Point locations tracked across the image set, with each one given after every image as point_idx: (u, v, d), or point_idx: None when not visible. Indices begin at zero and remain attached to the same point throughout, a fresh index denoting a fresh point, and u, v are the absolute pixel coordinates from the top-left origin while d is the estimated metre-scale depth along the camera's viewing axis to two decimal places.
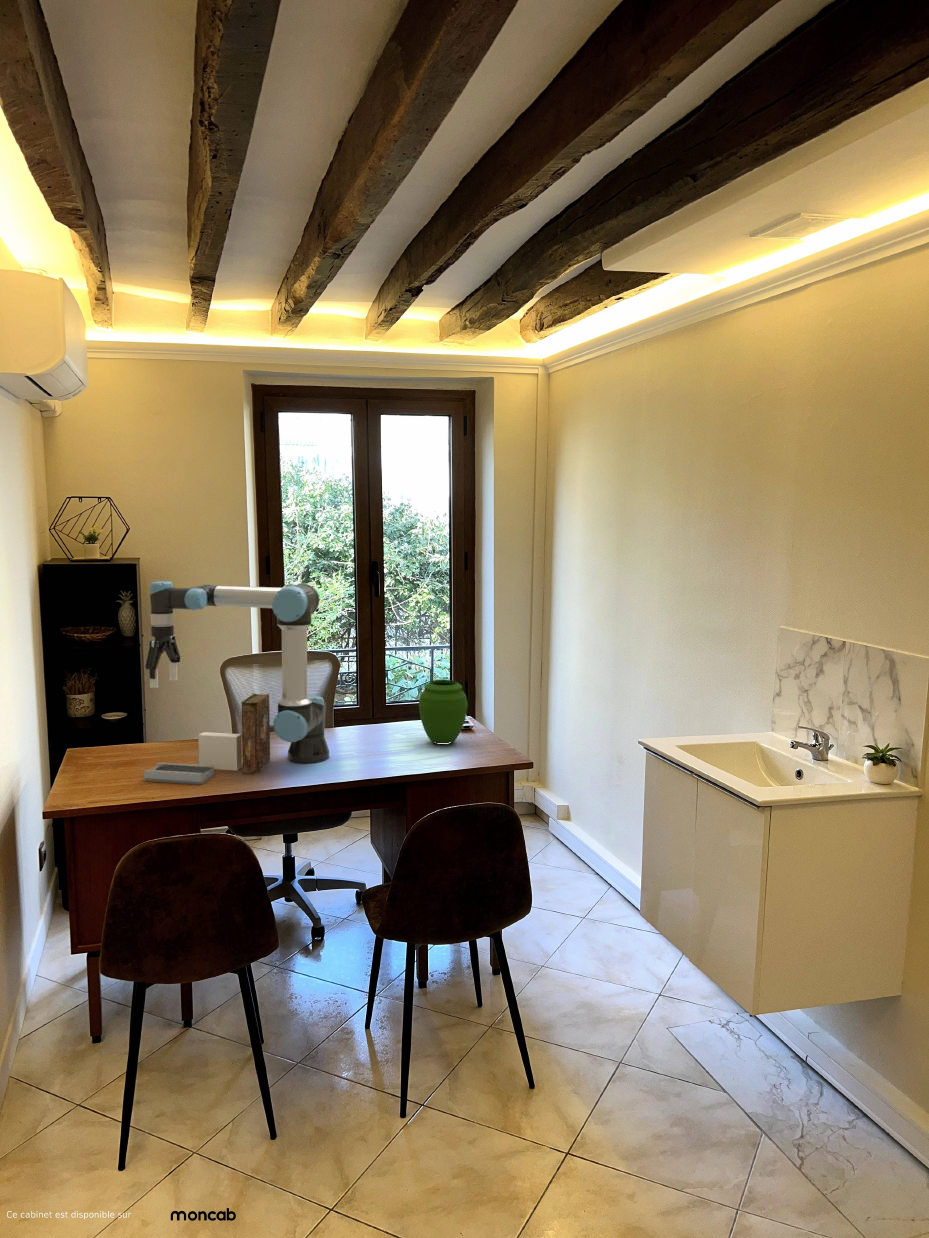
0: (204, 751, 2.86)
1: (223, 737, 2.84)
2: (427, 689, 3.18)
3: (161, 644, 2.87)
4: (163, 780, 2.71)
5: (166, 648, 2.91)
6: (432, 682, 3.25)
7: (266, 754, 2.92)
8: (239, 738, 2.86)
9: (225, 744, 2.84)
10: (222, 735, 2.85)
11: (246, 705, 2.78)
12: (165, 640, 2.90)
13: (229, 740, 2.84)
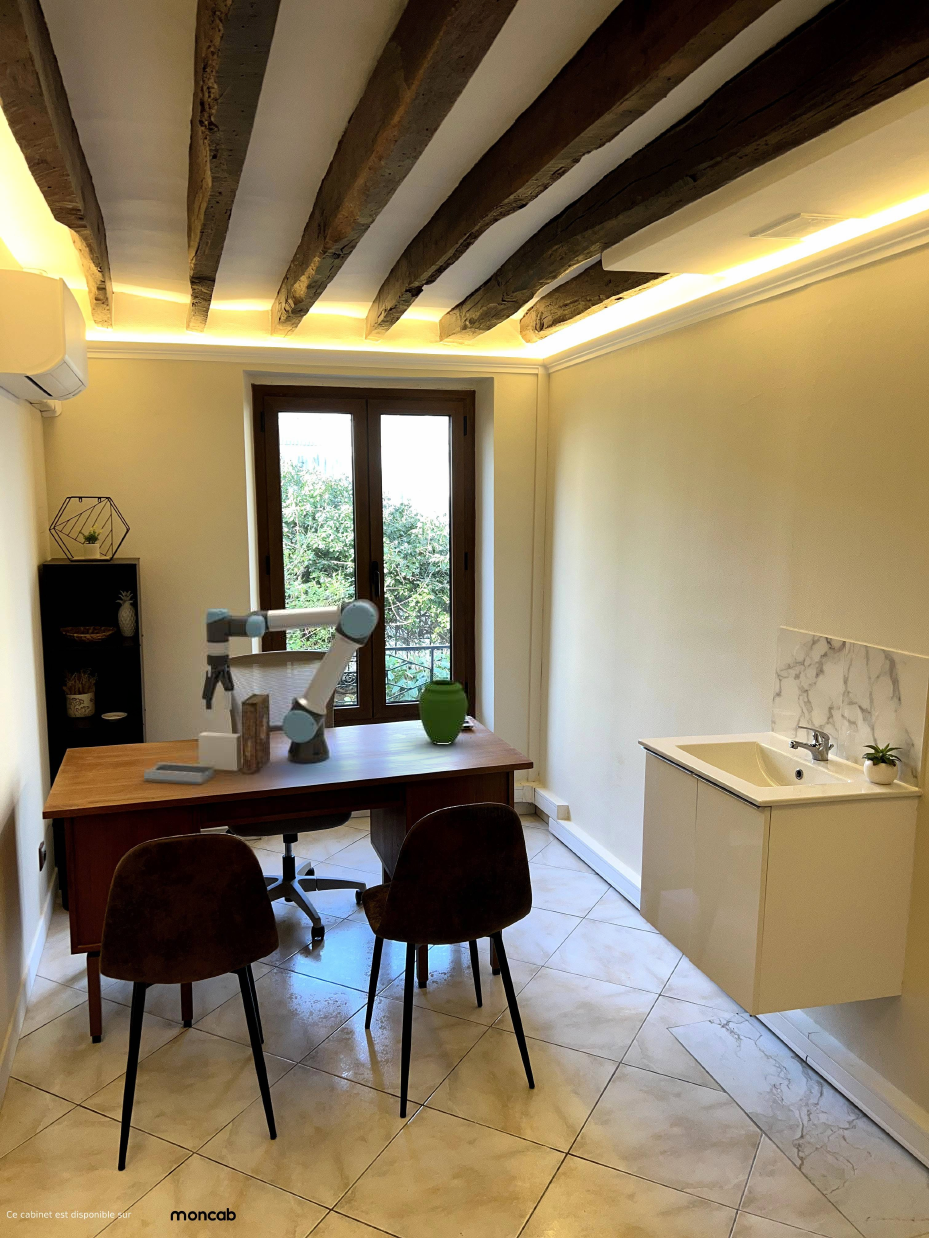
0: (204, 751, 2.86)
1: (223, 737, 2.84)
2: (427, 689, 3.18)
3: (217, 673, 2.81)
4: (163, 780, 2.71)
5: (221, 677, 2.84)
6: (432, 682, 3.25)
7: (266, 754, 2.92)
8: (239, 738, 2.86)
9: (225, 744, 2.84)
10: (222, 735, 2.85)
11: (246, 705, 2.78)
12: (221, 669, 2.83)
13: (229, 740, 2.84)
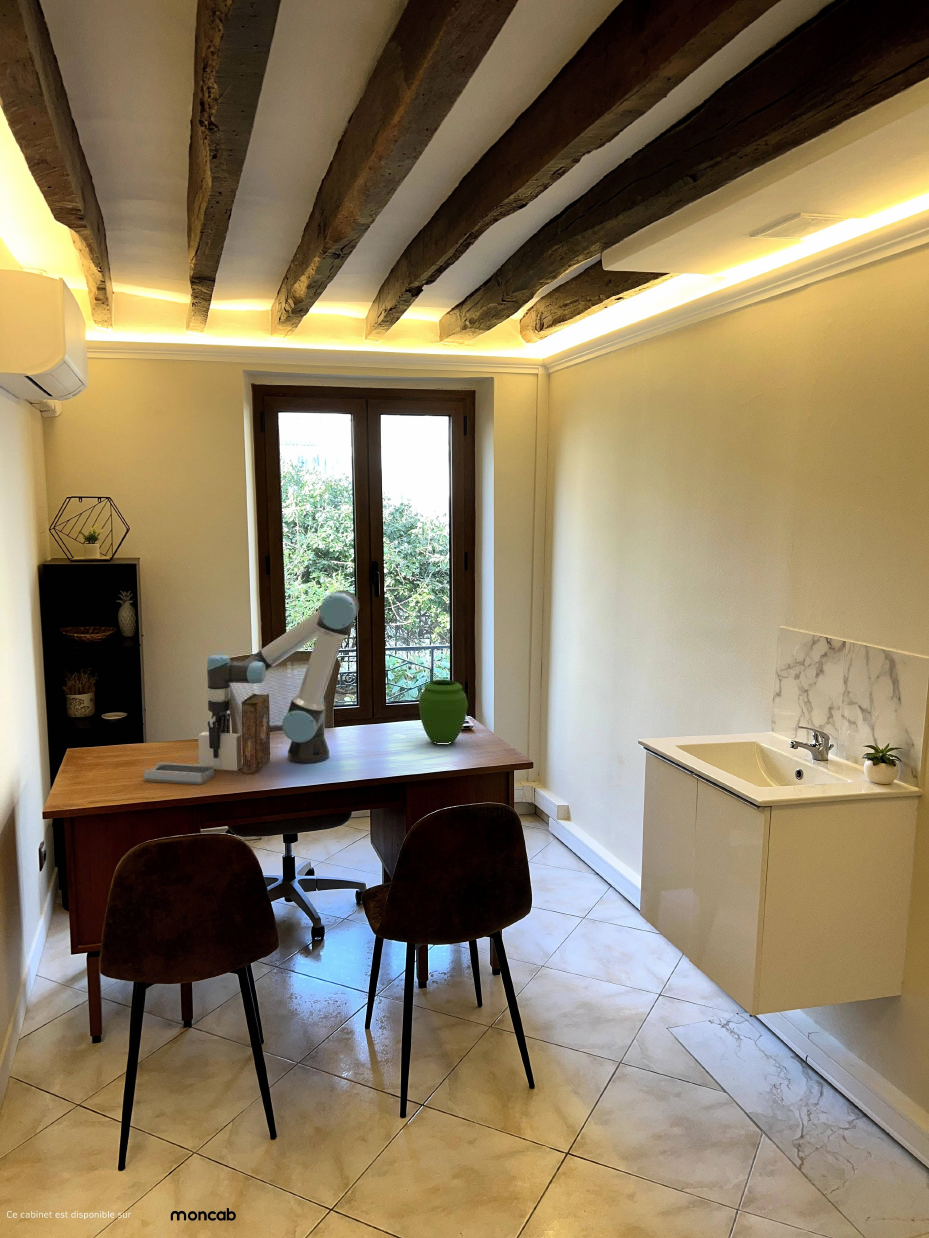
0: (204, 751, 2.86)
1: (223, 737, 2.84)
2: (427, 689, 3.18)
3: (218, 719, 2.82)
4: (163, 780, 2.71)
5: (223, 722, 2.86)
6: (432, 682, 3.25)
7: (266, 754, 2.92)
8: (239, 738, 2.86)
9: (225, 744, 2.84)
10: (222, 735, 2.85)
11: (246, 705, 2.78)
12: (222, 714, 2.85)
13: (229, 740, 2.84)
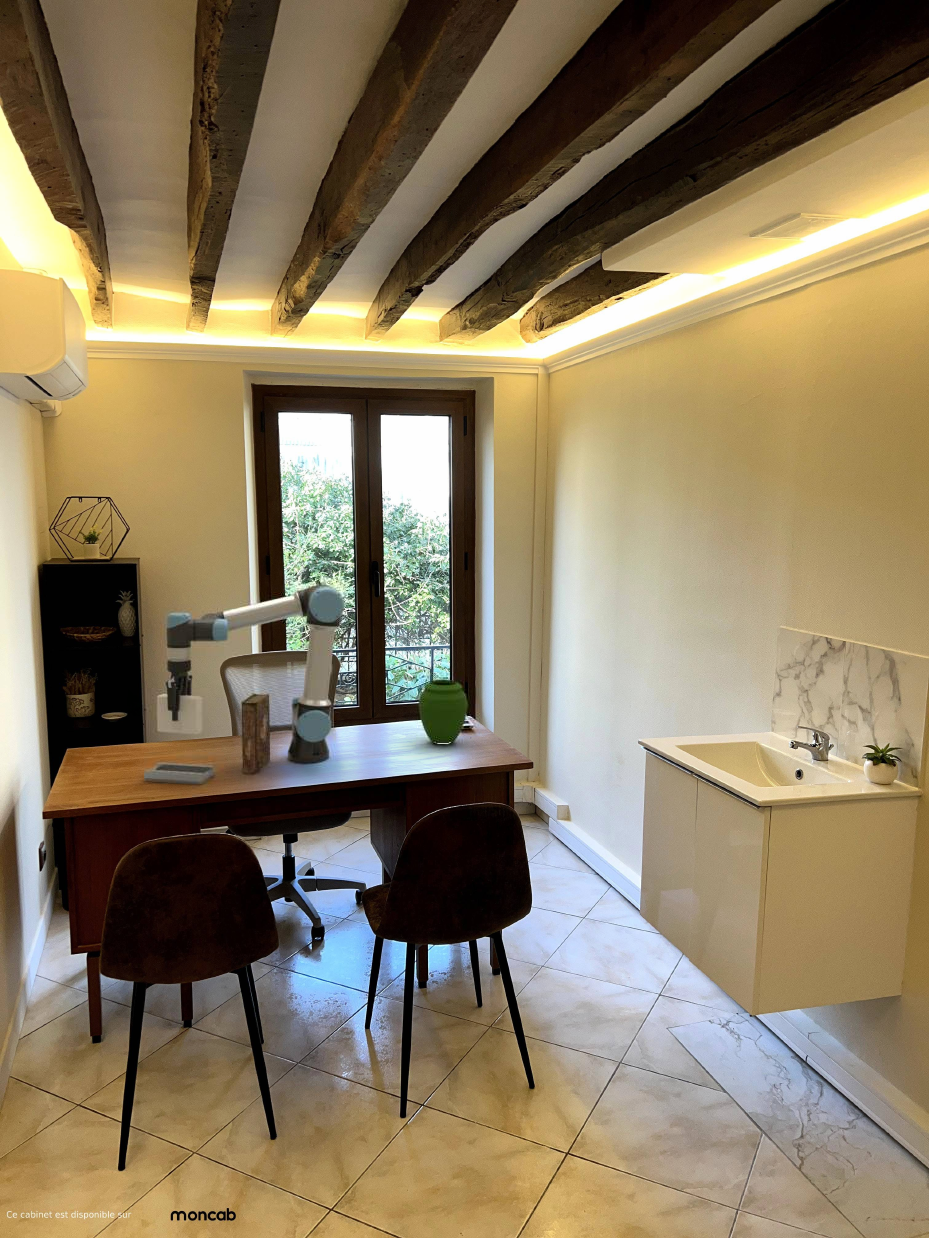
0: (162, 714, 2.72)
1: (182, 699, 2.70)
2: (427, 689, 3.18)
3: (177, 680, 2.69)
4: (163, 780, 2.71)
5: (183, 684, 2.72)
6: (432, 682, 3.25)
7: (266, 754, 2.92)
8: (199, 700, 2.72)
9: (184, 706, 2.71)
10: (182, 697, 2.72)
11: (246, 705, 2.78)
12: (182, 675, 2.71)
13: (189, 702, 2.70)
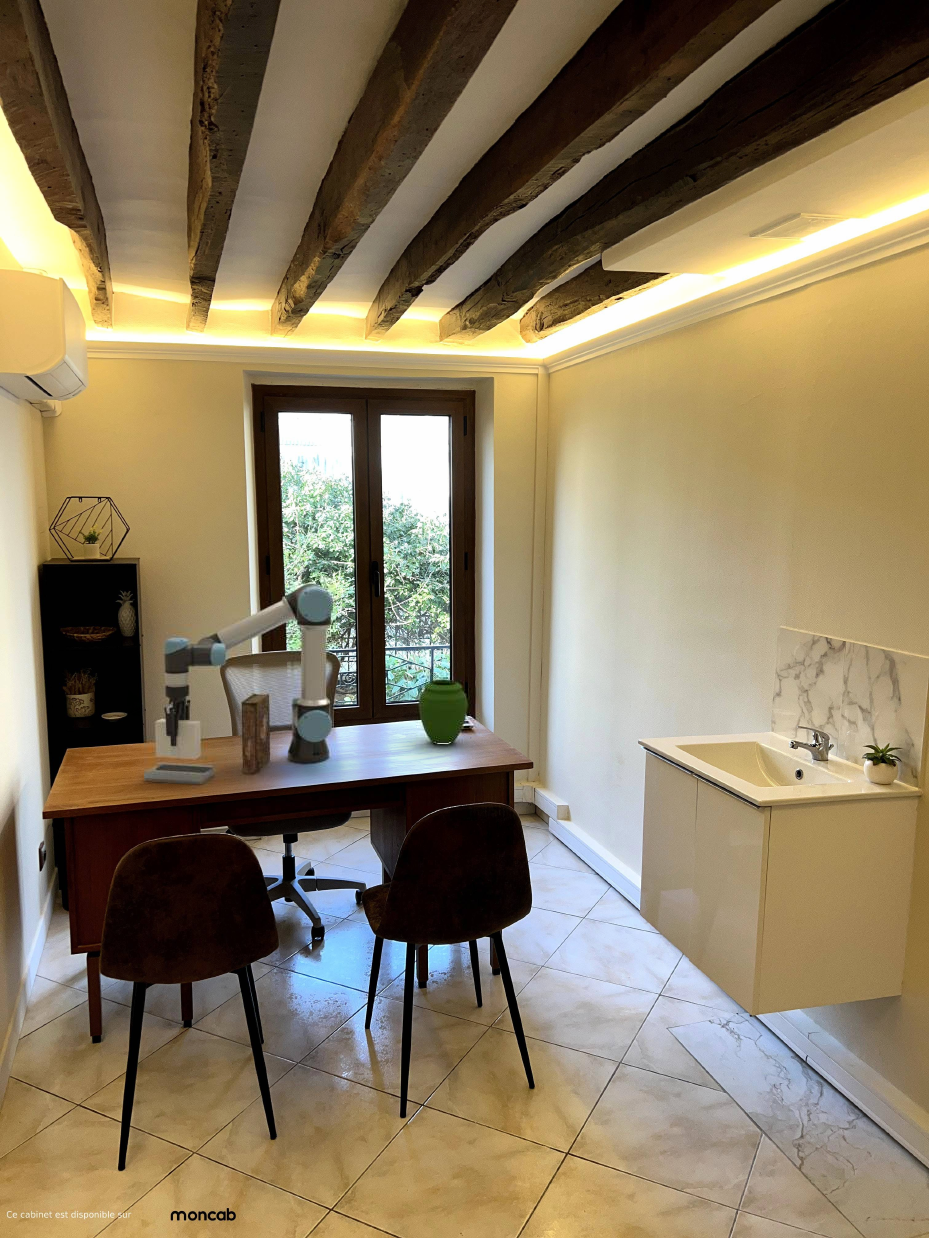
0: (161, 739, 2.72)
1: (180, 724, 2.70)
2: (427, 689, 3.18)
3: (176, 705, 2.69)
4: (163, 780, 2.71)
5: (181, 709, 2.72)
6: (432, 682, 3.25)
7: (266, 754, 2.92)
8: (198, 725, 2.72)
9: (183, 731, 2.71)
10: (180, 722, 2.72)
11: (246, 705, 2.78)
12: (180, 700, 2.72)
13: (187, 727, 2.70)
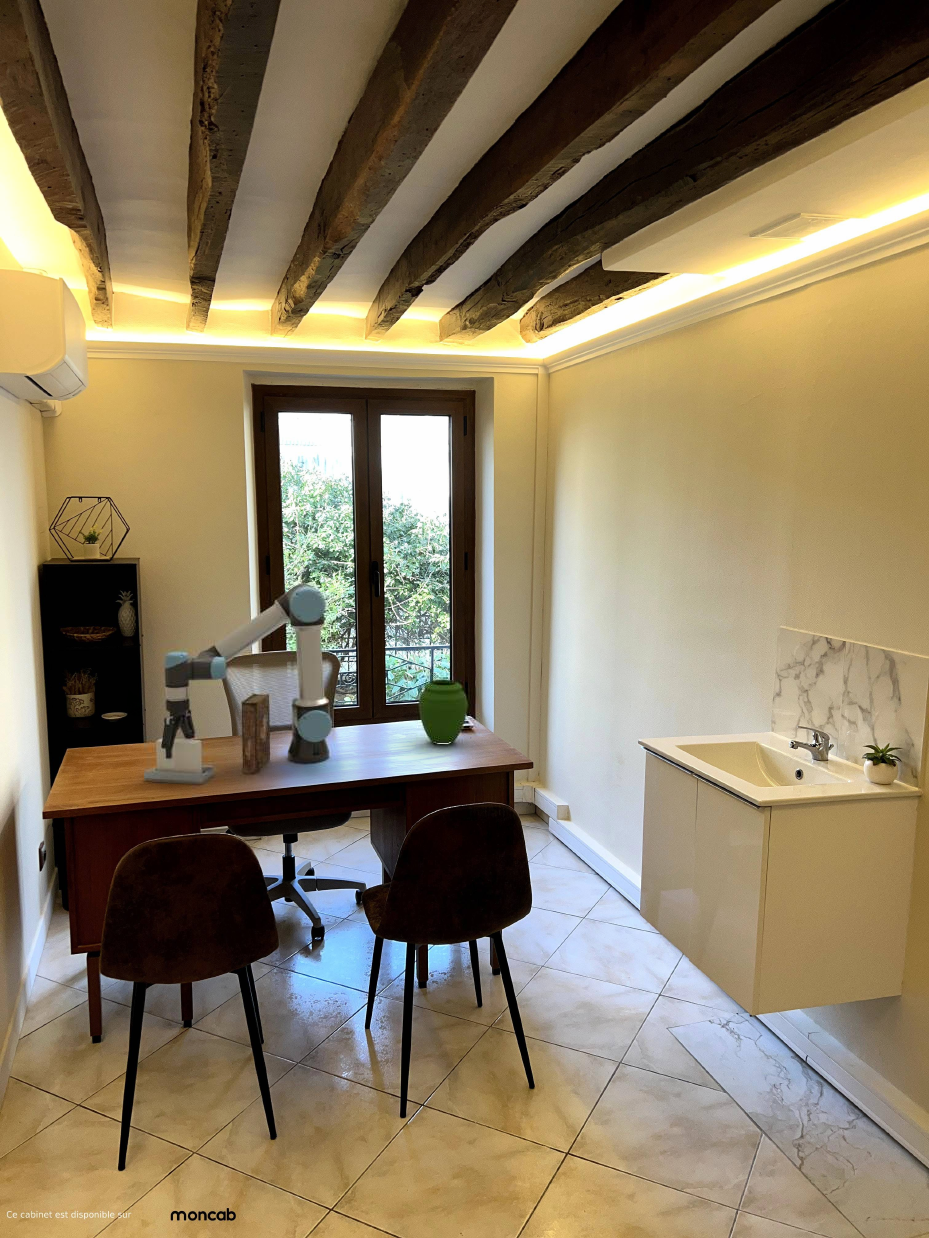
0: (162, 758, 2.73)
1: (181, 744, 2.71)
2: (427, 689, 3.18)
3: (176, 719, 2.69)
4: (163, 780, 2.71)
5: (181, 723, 2.73)
6: (432, 682, 3.25)
7: (266, 754, 2.92)
8: (199, 744, 2.73)
9: (184, 750, 2.71)
10: (181, 741, 2.73)
11: (246, 705, 2.78)
12: (180, 714, 2.72)
13: (188, 747, 2.71)
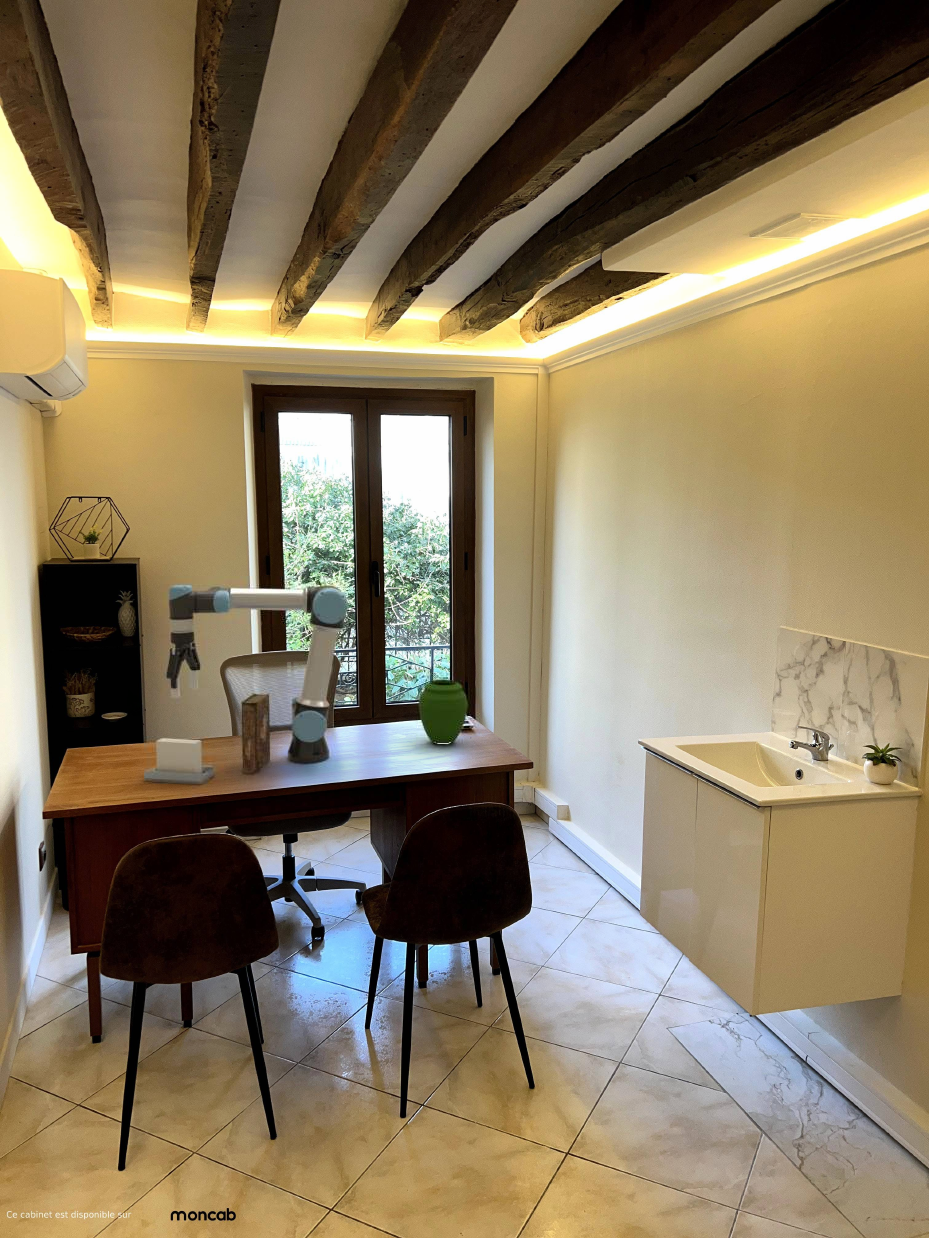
0: (162, 758, 2.73)
1: (181, 744, 2.71)
2: (427, 689, 3.18)
3: (182, 651, 2.72)
4: (163, 780, 2.71)
5: (187, 655, 2.75)
6: (432, 682, 3.25)
7: (266, 754, 2.92)
8: (199, 744, 2.73)
9: (184, 750, 2.71)
10: (181, 741, 2.73)
11: (246, 705, 2.78)
12: (185, 647, 2.74)
13: (188, 747, 2.71)
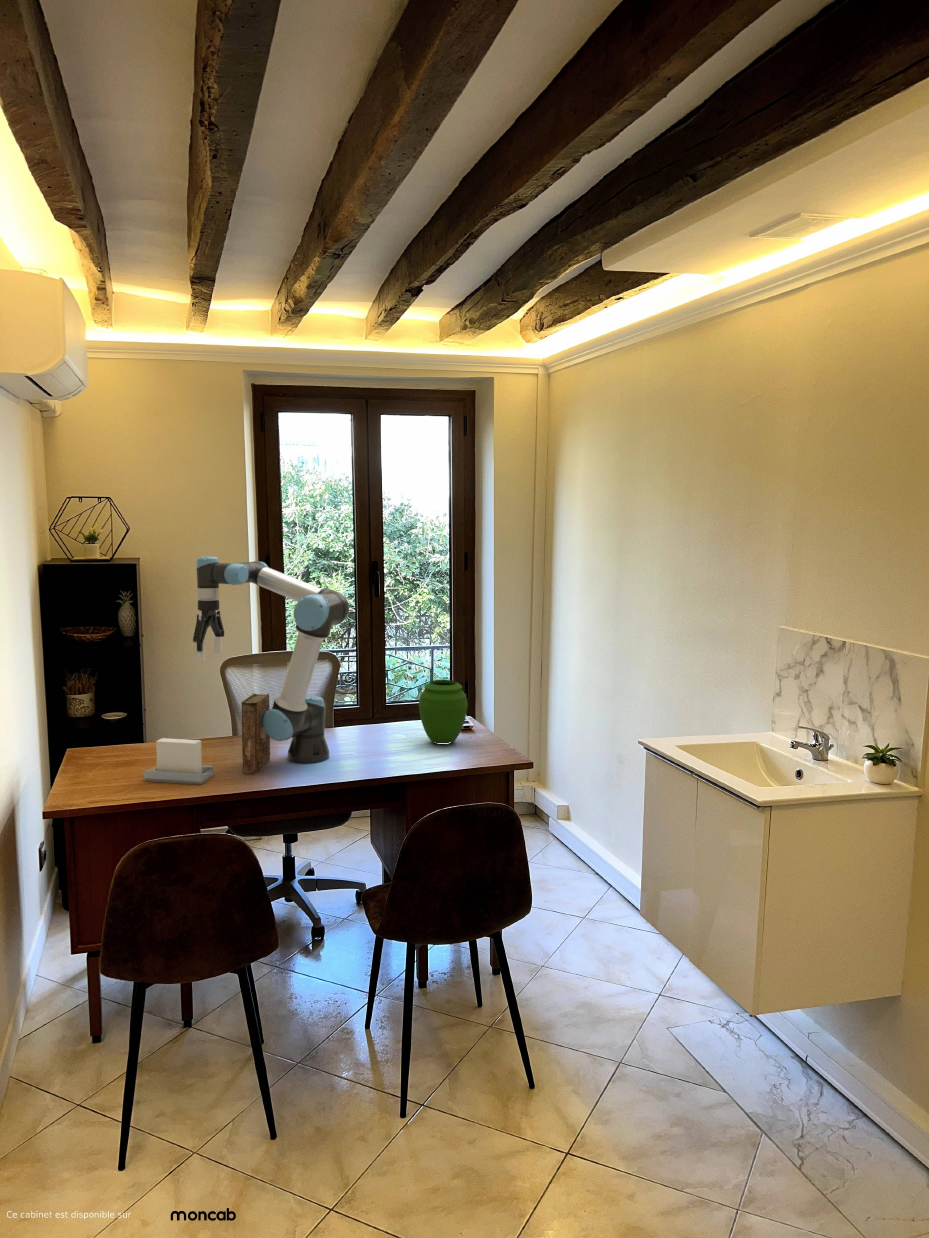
0: (162, 758, 2.73)
1: (181, 744, 2.71)
2: (427, 689, 3.18)
3: (207, 618, 2.94)
4: (163, 780, 2.71)
5: (212, 622, 2.97)
6: (432, 682, 3.25)
7: (266, 754, 2.92)
8: (199, 744, 2.73)
9: (184, 750, 2.71)
10: (181, 741, 2.73)
11: (246, 705, 2.78)
12: (211, 614, 2.96)
13: (188, 747, 2.71)
